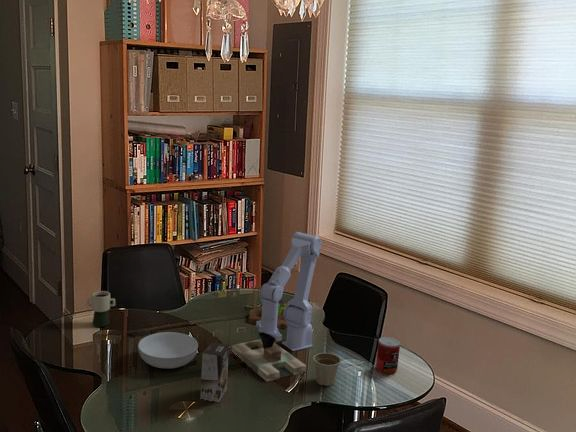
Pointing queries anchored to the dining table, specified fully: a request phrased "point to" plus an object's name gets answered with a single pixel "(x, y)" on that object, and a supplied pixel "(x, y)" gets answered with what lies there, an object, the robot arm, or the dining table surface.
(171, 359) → the serving bowl
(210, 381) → the coffee box
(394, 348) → the canned food
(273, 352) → the walnut block
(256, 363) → the cream slotted board
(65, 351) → the dining table surface
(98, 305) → the character mug
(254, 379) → the dining table surface
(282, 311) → the plant
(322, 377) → the flower pot
